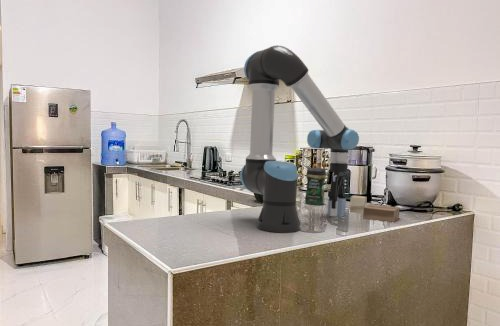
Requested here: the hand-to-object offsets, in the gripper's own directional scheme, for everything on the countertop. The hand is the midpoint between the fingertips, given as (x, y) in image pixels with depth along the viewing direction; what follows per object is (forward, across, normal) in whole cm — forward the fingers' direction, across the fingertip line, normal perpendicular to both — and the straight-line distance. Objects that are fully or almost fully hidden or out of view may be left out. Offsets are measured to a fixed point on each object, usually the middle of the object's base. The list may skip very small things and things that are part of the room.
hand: (336, 214), depth 169 cm
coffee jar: (0, +25, +18) cm, 31 cm away
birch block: (0, +15, -6) cm, 16 cm away
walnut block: (+1, +4, -18) cm, 18 cm away
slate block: (0, 0, 0) cm, 0 cm away
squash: (0, +15, +40) cm, 43 cm away
